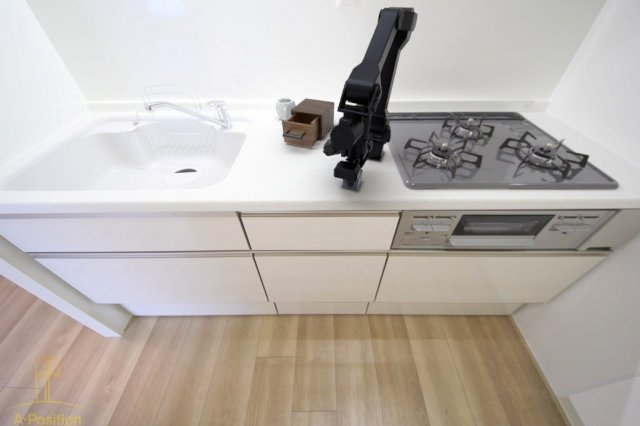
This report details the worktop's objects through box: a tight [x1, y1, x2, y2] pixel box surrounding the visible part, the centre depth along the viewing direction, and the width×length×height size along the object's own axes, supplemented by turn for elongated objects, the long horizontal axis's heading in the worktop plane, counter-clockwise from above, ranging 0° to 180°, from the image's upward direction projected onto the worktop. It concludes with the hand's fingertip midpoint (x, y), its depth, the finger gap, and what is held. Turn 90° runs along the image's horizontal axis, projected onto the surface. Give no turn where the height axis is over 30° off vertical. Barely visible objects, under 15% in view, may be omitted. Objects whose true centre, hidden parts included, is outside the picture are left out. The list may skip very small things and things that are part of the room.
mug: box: [275, 96, 297, 121], centre depth 102 cm, size 12×8×8 cm
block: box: [342, 169, 364, 192], centre depth 69 cm, size 4×4×4 cm
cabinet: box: [291, 98, 335, 141], centre depth 94 cm, size 14×13×10 cm
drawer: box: [281, 113, 320, 148], centre depth 87 cm, size 17×11×8 cm
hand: (352, 182), depth 70 cm, fingers closed on block, 4 cm apart
